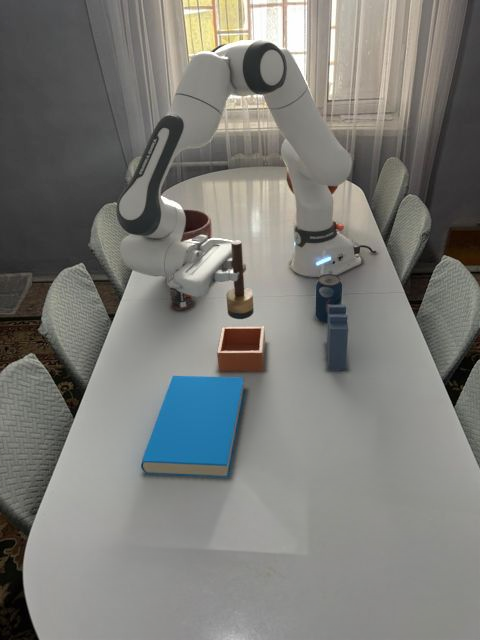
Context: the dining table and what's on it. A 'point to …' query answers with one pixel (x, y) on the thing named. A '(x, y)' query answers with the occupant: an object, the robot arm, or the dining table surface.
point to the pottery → (196, 225)
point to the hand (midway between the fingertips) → (241, 272)
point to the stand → (337, 337)
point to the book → (196, 427)
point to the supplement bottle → (180, 299)
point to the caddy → (241, 349)
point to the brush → (239, 288)
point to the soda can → (327, 295)
